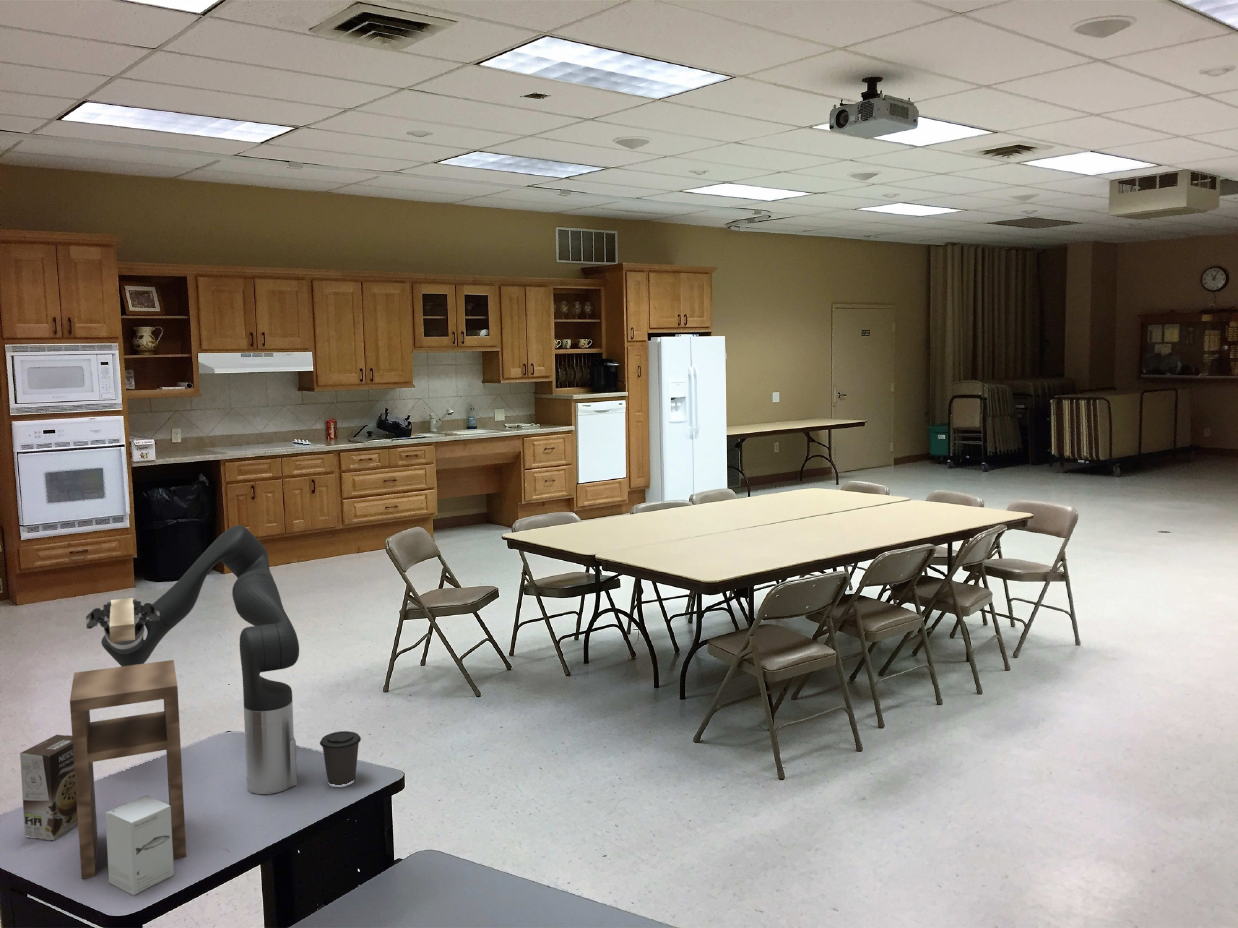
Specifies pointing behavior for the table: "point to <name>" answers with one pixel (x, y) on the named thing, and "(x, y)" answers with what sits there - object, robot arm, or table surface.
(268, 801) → the table surface
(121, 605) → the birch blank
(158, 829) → the supplement box
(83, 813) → the walnut rack
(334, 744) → the coffee cup
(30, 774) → the coffee box
